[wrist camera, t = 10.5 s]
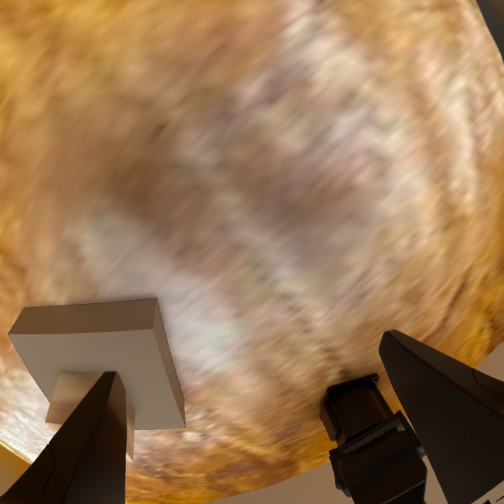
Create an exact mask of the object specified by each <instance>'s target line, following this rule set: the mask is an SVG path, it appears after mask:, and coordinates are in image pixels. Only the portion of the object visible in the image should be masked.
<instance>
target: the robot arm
mask: <svg viewBox="0 0 504 504" xmlns="http://www.w3.org/2000/svg"><path fill="white" fill-rule="evenodd" d="M379 355H380V357H381V360H382V362H383V364H384V367H385V369H386V372H387V374H388V377H389V380H390V382H391V384H392V387H393V389H394V391H395V393H396V395H397V397H398V399H399V401H400V403H401V404H402V406H403V408H404V410H405V412H406V414H407V416H408V418H409V420H410V422H411V424H412V426H413V428H414V430H415V432H416V433H415V432H414V430H413V429H412V428H411V426H410V425H409V423H408V421H407V420H406V418H405V417H404V415H403V414H402V412H401V411H400V410H399V411H397V412H396V414H393V412H392V411H391V409H390V407H389V406H388V404H387V403H386V401H385V399H384V398H383V396H382V394H381V393H380V391H379V390H378V388H377V383H378V381H379V378H380V377H379V375H378V374H375V375H372V376H368V377H365V378H362V379H358V380H355V381H351V382H348V383H344V384H340V385H336V386H333V387H330V388H328V390H327V392H326V396H325V400H324V403H323V405H322V409H321V412H320V419H321V420H322V421H323V424H324V426H325V428H326V431H327V433H328V435H329V438H330V440H331V441H336V443H337V445H338V447H337V448H335V449H332V450H330V451H329V453H330V456H329V459H330V461H331V464H332V468H333V471H334V477H335V485H336V488H337V489H339V490H342V491H343V492H344V494H345V495H346V496H347V497H349V498H350V497H352V499H353V501H354V503H355V504H427V503H426V501H425V492H426V484H427V475H428V473H427V468H426V465H425V464H424V462H423V460H422V457H424V456H426V455H427V457H428V459H429V462H430V464H431V466H432V468H433V470H434V472H435V475H436V477H437V479H438V482H439V484H440V486H441V488H442V491H443V493H444V495H445V498H446V500H447V502H448V504H471V503H473V502H474V501H476V500H477V499H479V498H480V497H482V496H483V495H485V494H486V496H487V498H488V499H487V500H486V501H485V502H483V503H482V504H504V382H503V381H500V380H498V379H495V378H493V377H491V376H489V375H486V374H484V373H482V372H480V371H478V370H476V369H474V368H471V367H470V366H468V365H466V364H464V363H462V362H460V361H458V360H456V359H454V358H452V357H450V356H448V355H446V354H444V353H442V352H440V351H438V350H436V349H434V348H432V347H430V346H428V345H426V344H424V343H422V342H420V341H418V340H416V339H414V338H412V337H410V336H408V335H406V334H404V333H402V332H400V331H398V330H396V329H392V330H388V331H385V332H384V333H383V336H382V339H381V343H380V346H379ZM402 429H404V430H402ZM416 434H417V435H416ZM417 436H418V437H417ZM126 449H127V412H126V390H125V386H124V384H123V382H122V380H121V378H120V376H119V374H118V372H117V371H105V372H104V373H103V374H102V375H101V376H100V378H99V379H98V380H97V381H96V383H95V384H94V385H93V386H92V388H91V389H90V390H89V391H88V393H87V394H86V395H85V396H84V398H83V399H82V400H81V401H80V403H79V404H78V405H77V407H76V408H75V409H74V410H73V412H72V413H71V414H70V416H69V417H68V418H67V419H66V421H65V422H64V423H63V425H62V426H61V427H60V428H59V430H58V431H57V432H56V434H55V435H54V436H53V438H52V439H51V440H50V442H49V444H47V445H46V447H45V448H44V450H43V451H42V452H41V453H40V455H39V456H38V457H37V458H36V460H35V461H34V462H33V463H32V464H31V466H30V467H29V468H28V469H27V470H26V471H25V472H24V474H22V476H21V477H20V478H19V479H18V480H17V481H16V482H15V483H14V484H13V485H12V487H10V488H9V490H8V491H7V492H6V493H5V494H3V495H2V496H0V504H125V471H126Z"/></svg>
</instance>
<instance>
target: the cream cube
mask: <svg viewBox="0 0 504 504" xmlns="http://www.w3.org/2000/svg"><path fill="white" fill-rule="evenodd" d="M102 374H103V373H94V372H64V371H60V374H59V377H58V380H57V384H56V387H55V390H54V393H53V396H52V400H51V403H50V406H49V410H48V413H47V417H46V421H45V423H46V424H47V426H48V427H49V428H50V429H51V430H52V432H53V433H54V434H56V432H57V431H58V430H59V428H60V427H61V426H62V425H63V423H64V422H65V421H66V419H67V418H68V417H69V416H70V414H71V413H72V412H73V410H74V409H75V408H76V407H77V405H78V404H79V403H80V401H81V400H82V399H83V398H84V396H85V395H86V394H87V393H88V391H89V390H90V389H91V388H92V386H93V385H94V384H95V383H96V381H97V380H98V379H99V378H100V376H101V375H102ZM118 374H119V373H118ZM119 376H120V375H119ZM120 378H121V377H120ZM125 390H126V389H125ZM126 412H127V449H126V461H130V462H133V445H134V426H135V409H134V407H133V405H132V403H131V401H130V398H129V396H128V394H127V392H126Z"/></svg>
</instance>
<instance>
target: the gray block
mask: <svg viewBox="0 0 504 504" xmlns="http://www.w3.org/2000/svg"><path fill="white" fill-rule="evenodd" d="M8 336H9V338H10V339H11V341H12V343H13V345H14V347H15V349H16V350H17V352H18V354H19V356H20V357H21V359H22V361H23V363H24V364H25V366H26V367H27V369H28V371H29V372H30V374H31V376H32V377H33V379H34V380H35V382H36V383H37V385H38V386H39V388H40V389H41V391H42V392H43V394H44V395H45V397H46V398H47V399H48V401H49V402H50V403H51V400H52V396H53V393H54V390H55V387H56V384H57V380H58V377H59V374H60V371H64V372H94V373H104V372H105V371H117V372H118V373H119V375H120V377H121V380H122V382H123V384H124V386H125V389H126V392H127V394H128V396H129V398H130V401H131V403H132V405H133V407H134V409H135V426H134V430H157V429H177V428H186V426H185V410H184V397H183V394H182V391H181V388H180V384H179V381H178V378H177V374H176V371H175V367H174V364H173V360H172V357H171V353H170V349H169V346H168V342H167V338H166V334H165V330H164V326H163V322H162V318H161V314H160V309H159V305H158V301H157V298H153V299H142V300H131V301H119V302H106V303H93V304H79V305H64V306H47V307H28V308H24V309H23V310H22V312H21V314H20V315H19V317H18V318H17V320H16V322H15V323H14V325H13V326H12V328H11V330H10V331H9V333H8Z"/></svg>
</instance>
